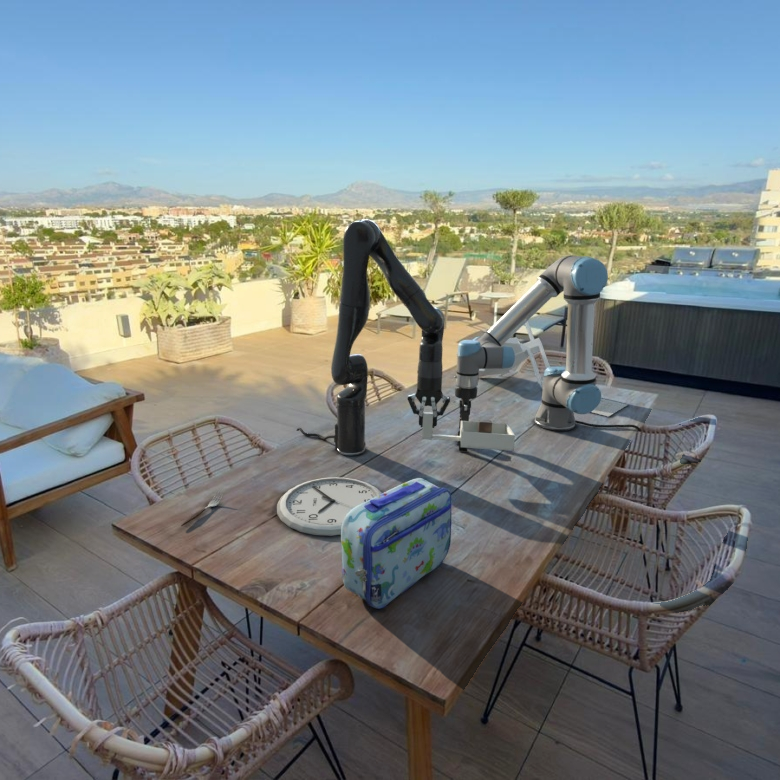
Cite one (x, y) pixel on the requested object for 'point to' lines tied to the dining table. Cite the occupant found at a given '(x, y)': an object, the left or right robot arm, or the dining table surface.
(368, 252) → the left robot arm
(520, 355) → the white plastic object
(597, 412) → the invitation card
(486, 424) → the walnut block
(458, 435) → the charcoal block
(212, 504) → the fork
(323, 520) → the wall clock
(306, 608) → the dining table surface
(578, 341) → the right robot arm
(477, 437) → the tray
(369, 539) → the lunch box
